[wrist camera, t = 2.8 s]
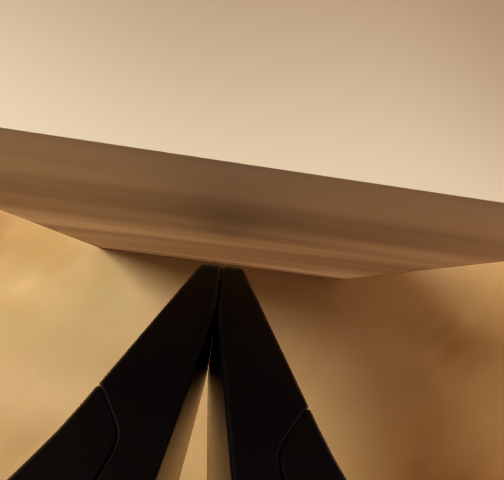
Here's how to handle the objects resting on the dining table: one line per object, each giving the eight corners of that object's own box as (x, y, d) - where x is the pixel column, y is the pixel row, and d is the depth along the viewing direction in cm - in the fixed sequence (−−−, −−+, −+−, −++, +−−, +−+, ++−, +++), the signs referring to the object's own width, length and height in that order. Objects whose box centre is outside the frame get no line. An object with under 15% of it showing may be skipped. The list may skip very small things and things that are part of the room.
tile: (339, 279, 16) (730, 236, 4) (98, 247, 15) (-352, 74, 3) (346, 214, 16) (720, -12, 4) (110, 180, 15) (-253, -200, 3)
